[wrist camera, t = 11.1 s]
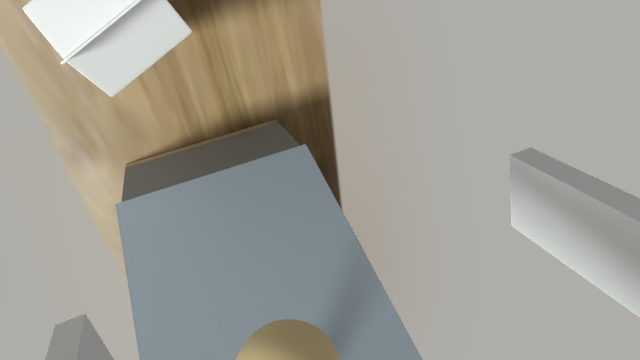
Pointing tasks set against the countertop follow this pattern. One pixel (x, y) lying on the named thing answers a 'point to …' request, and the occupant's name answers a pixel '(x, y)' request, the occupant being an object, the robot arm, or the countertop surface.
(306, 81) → the countertop surface
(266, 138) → the carton
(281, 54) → the countertop surface
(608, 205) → the robot arm
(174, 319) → the flap
